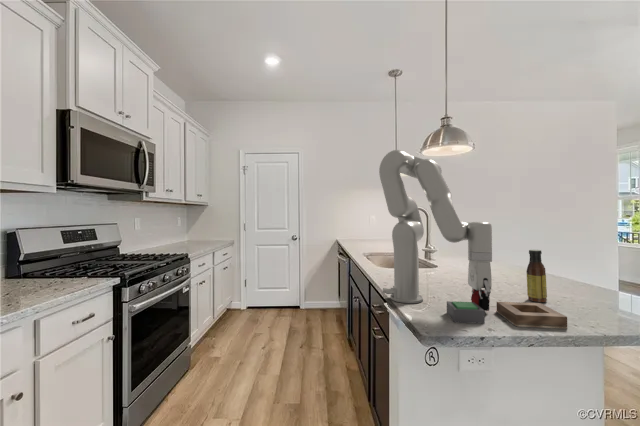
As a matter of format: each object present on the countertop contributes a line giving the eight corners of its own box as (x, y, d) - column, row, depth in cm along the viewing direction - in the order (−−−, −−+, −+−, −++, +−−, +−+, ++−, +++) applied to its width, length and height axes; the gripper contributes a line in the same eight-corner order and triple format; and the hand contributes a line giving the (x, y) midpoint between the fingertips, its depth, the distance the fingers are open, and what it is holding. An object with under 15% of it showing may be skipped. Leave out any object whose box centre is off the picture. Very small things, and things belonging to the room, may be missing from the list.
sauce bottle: (540, 298, 122) (540, 249, 122) (550, 303, 116) (550, 251, 116) (523, 298, 123) (522, 249, 123) (532, 302, 117) (532, 250, 117)
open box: (516, 326, 93) (516, 314, 93) (496, 311, 107) (496, 301, 107) (567, 328, 91) (567, 316, 91) (540, 313, 104) (540, 303, 104)
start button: (457, 316, 98) (457, 306, 98) (452, 310, 104) (452, 301, 104) (477, 316, 97) (477, 307, 97) (471, 310, 103) (471, 302, 103)
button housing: (454, 322, 97) (454, 309, 97) (446, 312, 106) (446, 301, 106) (484, 323, 95) (484, 310, 95) (474, 313, 104) (474, 302, 104)
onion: (493, 313, 105) (492, 289, 105) (476, 313, 105) (476, 289, 105) (484, 307, 111) (484, 285, 111) (468, 307, 111) (468, 285, 111)
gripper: (461, 253, 117) (461, 300, 117) (477, 260, 100) (478, 315, 100) (481, 253, 116) (482, 300, 116) (502, 260, 99) (502, 316, 99)
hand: (480, 306), depth 108 cm, fingers closed on onion, 5 cm apart
